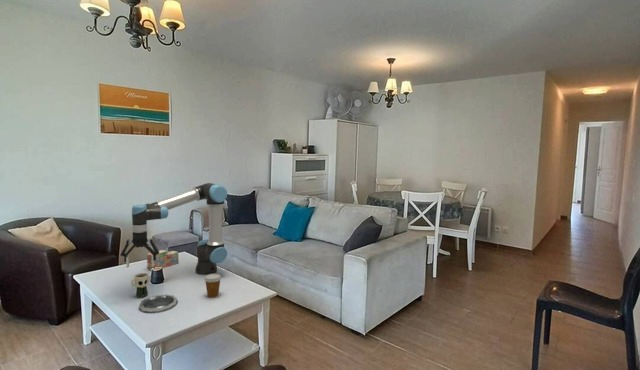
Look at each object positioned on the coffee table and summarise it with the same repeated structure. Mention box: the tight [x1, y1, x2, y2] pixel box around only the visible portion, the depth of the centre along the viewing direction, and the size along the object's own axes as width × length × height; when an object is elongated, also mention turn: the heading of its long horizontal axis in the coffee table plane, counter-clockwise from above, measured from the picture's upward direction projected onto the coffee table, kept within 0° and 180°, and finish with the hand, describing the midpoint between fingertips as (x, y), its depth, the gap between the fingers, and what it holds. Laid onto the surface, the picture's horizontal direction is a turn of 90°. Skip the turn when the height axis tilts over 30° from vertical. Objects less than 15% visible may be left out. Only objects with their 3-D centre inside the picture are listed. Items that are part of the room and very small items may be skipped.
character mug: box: [130, 272, 152, 298], centre depth 202 cm, size 11×7×13 cm, turn 137°
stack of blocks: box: [146, 249, 180, 271], centre depth 253 cm, size 21×6×12 cm, turn 147°
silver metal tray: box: [138, 293, 179, 314], centre depth 192 cm, size 20×20×2 cm
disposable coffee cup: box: [204, 273, 222, 298], centre depth 206 cm, size 10×10×12 cm
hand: (140, 266), depth 201 cm, fingers open, 13 cm apart
